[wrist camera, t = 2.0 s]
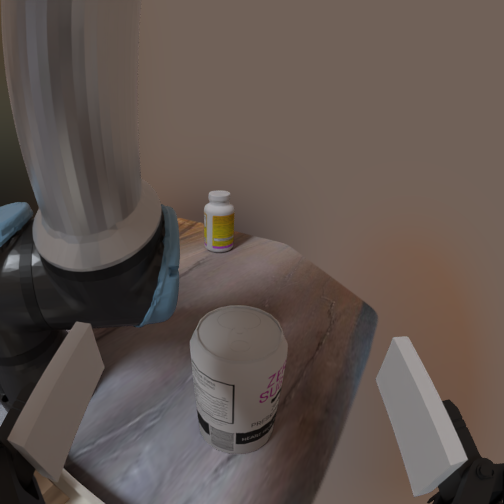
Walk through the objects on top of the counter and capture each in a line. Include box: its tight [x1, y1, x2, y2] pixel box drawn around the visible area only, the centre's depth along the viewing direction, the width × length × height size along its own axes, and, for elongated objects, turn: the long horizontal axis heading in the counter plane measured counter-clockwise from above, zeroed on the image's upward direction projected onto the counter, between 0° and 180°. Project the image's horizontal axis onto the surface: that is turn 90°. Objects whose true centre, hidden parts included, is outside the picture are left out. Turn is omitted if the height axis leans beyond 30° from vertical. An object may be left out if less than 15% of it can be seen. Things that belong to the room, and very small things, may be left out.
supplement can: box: [190, 305, 288, 454], centre depth 28 cm, size 8×8×15 cm
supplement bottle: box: [204, 191, 234, 252], centre depth 70 cm, size 7×7×13 cm
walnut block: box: [34, 469, 70, 504], centre depth 17 cm, size 4×4×4 cm
